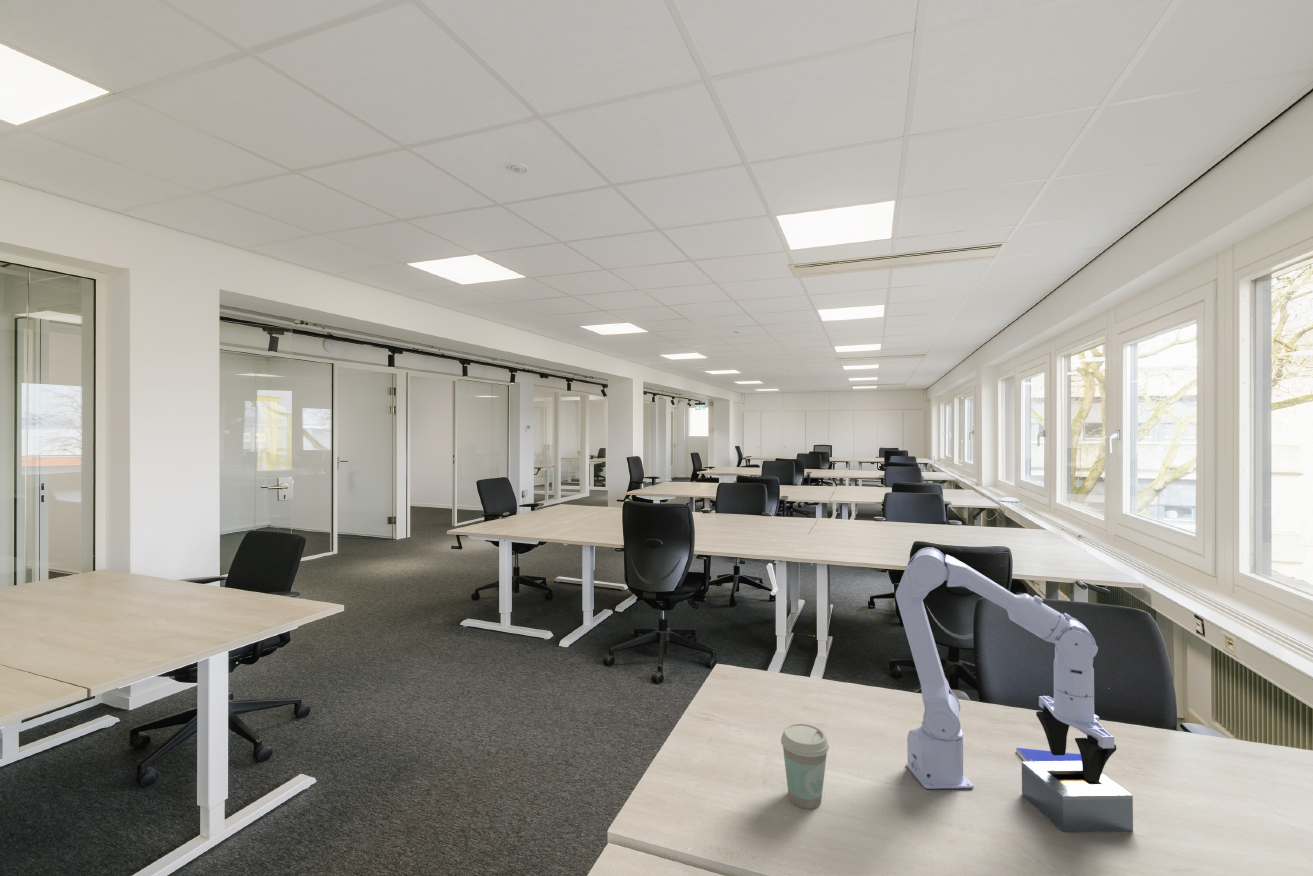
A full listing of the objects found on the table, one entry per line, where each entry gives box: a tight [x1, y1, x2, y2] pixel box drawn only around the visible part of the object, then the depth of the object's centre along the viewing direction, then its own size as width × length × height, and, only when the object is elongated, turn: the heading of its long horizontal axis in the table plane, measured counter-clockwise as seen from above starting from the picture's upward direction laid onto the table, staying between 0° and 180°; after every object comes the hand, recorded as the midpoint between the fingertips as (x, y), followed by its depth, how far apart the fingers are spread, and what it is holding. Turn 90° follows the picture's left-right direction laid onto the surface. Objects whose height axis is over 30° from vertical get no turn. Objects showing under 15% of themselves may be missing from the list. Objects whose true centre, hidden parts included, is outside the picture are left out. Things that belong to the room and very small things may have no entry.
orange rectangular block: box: [1058, 780, 1089, 785], centre depth 96 cm, size 5×2×4 cm, turn 90°
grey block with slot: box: [1021, 760, 1134, 833], centre depth 96 cm, size 12×10×6 cm
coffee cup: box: [780, 722, 830, 810], centre depth 100 cm, size 8×8×12 cm
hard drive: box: [1015, 747, 1104, 774], centre depth 110 cm, size 2×8×12 cm
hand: (1074, 766), depth 96 cm, fingers open, 7 cm apart
